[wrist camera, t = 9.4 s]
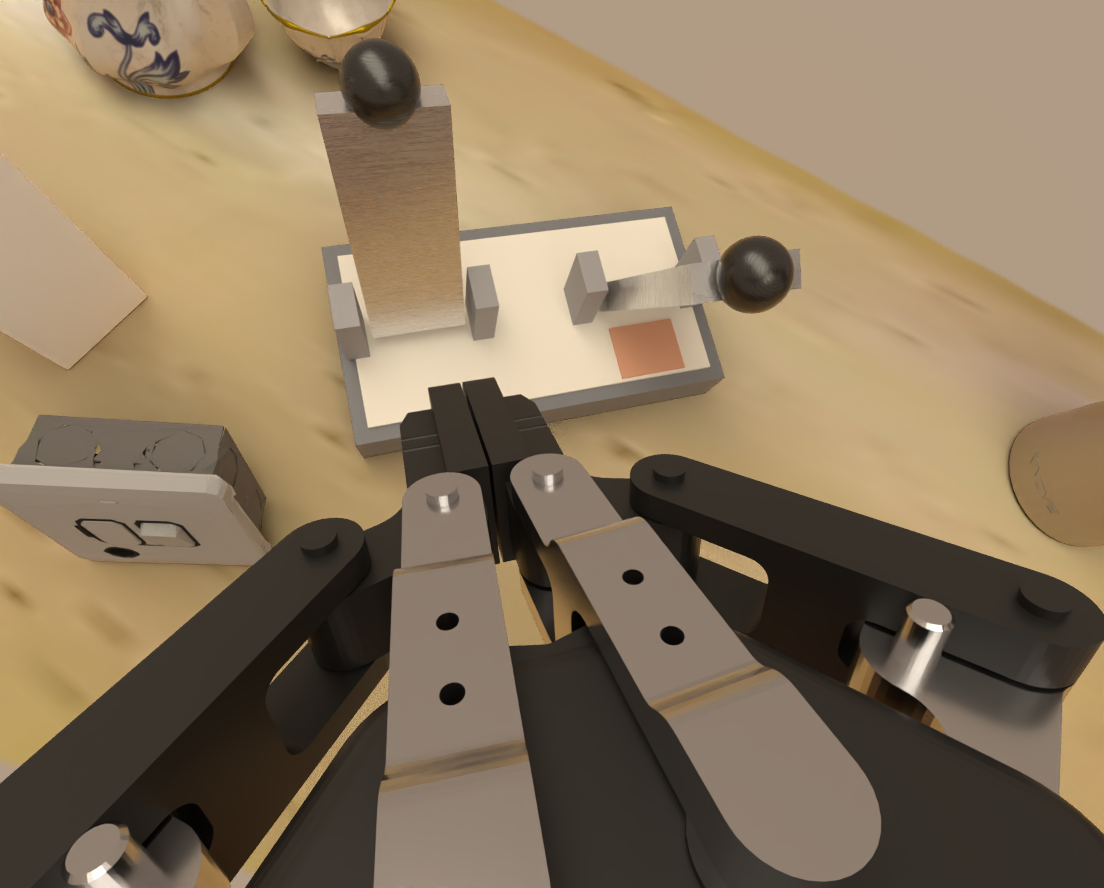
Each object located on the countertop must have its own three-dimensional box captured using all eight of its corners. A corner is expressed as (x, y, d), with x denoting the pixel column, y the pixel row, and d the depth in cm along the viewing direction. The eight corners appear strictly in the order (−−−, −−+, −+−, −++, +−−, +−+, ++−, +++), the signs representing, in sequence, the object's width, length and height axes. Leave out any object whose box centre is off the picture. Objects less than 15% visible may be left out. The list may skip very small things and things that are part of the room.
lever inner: (672, 261, 36) (831, 222, 23) (677, 312, 37) (834, 303, 23) (594, 272, 35) (713, 238, 22) (600, 323, 36) (719, 321, 22)
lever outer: (457, 296, 35) (436, 20, 23) (467, 333, 33) (450, 58, 21) (368, 308, 34) (298, 25, 22) (375, 347, 32) (303, 66, 20)
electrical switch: (85, 561, 32) (-50, 525, 23) (110, 467, 33) (-7, 401, 25) (273, 567, 33) (213, 535, 24) (288, 476, 35) (236, 417, 26)
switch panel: (656, 233, 42) (696, 162, 35) (704, 393, 40) (758, 350, 33) (331, 273, 37) (304, 201, 31) (363, 457, 35) (341, 424, 28)
